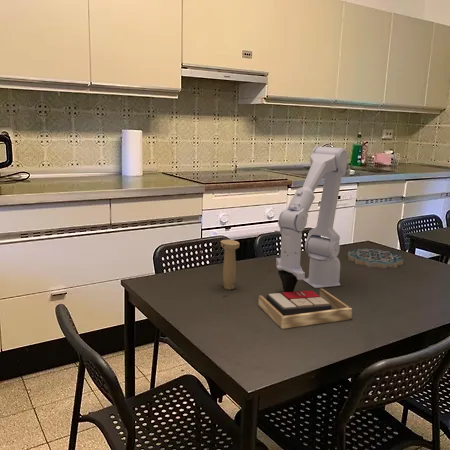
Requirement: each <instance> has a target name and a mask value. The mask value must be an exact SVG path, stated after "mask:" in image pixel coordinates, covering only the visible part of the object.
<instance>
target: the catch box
mask: <svg viewBox="0 0 450 450" xmlns="http://www.w3.org/2000/svg"><path fill="white" fill-rule="evenodd" d="M318 295H319V296H320V297H321V298H323V299H324V300H326V301H327V302H329V304H330V305H331V310H326V311H318V312H310V313H303V314H295V315H287V316H283V315H282V314H281V313H280V312H279V311H278V310H277V309H276V308H275V307H274V306H273V305H271V304H270V303H269V302H268V301H267V300H266V298H265V297H264V296H263V295H258V307H259V308H261V310H263V311H264V312H265V314H266V315H267V316H269V317H270V318H271V320H272V321H273V322H275V323H276V325H278V326H279V327H280V329H282V330H283V329H289V328H291V329H292V328H296V327H297V328H298V327H305V326H306V327H307V326H312V325H320V324H325V323H326V324H327V323H331V322H332V323H333V322H339V321H340V322H341V321H346V320H347V321H348V320H351V319H352V315H353V308H352V307H350V306H349V305H347V304H346V303H344V302H343V301H341V300H340V299H339V298H337V297H336V296H334V294H333V295H332V294H331V293H330V292H328V291H327V290H325V289H324V288H323V287H322V288H319V294H318Z"/></svg>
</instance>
